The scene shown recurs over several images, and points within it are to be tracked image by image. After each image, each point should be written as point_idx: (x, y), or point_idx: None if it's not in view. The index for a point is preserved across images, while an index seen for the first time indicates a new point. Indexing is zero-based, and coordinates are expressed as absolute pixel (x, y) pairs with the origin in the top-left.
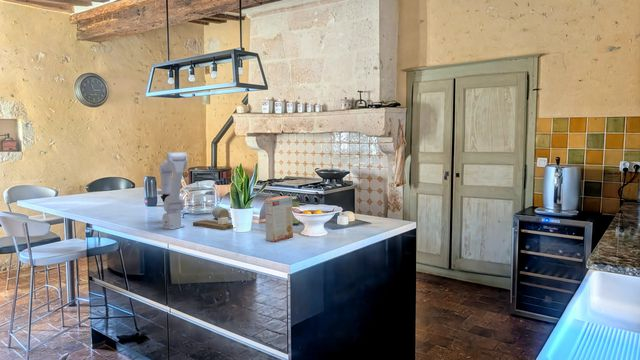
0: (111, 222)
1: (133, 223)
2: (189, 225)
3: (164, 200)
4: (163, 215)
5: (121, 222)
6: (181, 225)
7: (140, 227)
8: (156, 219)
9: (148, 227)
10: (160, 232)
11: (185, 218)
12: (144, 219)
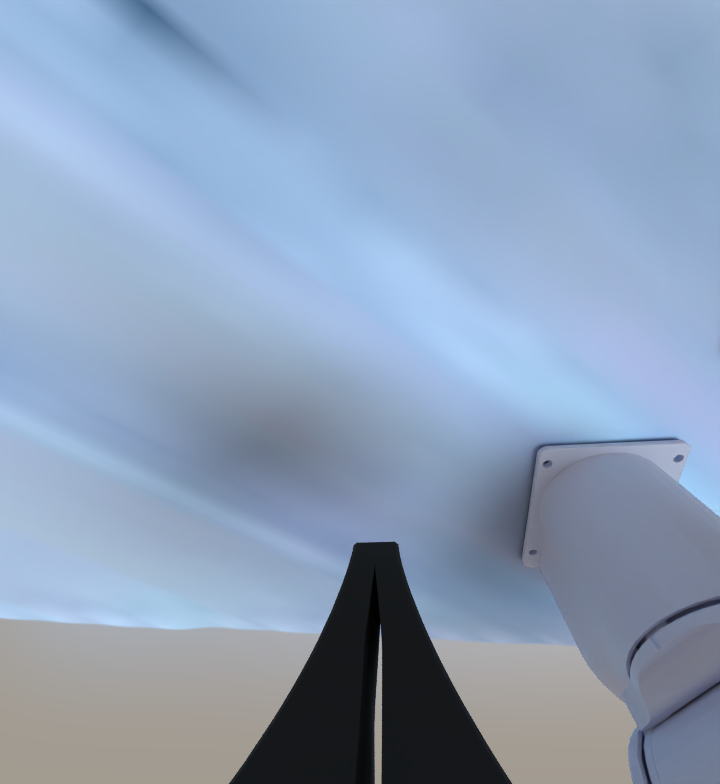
0: (18, 609)
1: (157, 562)
2: (681, 363)
3: (373, 772)
4: (617, 690)
5: (58, 582)
6: (640, 447)
7: None
8: (83, 366)
9: None
10: None
11: (262, 64)
12: (14, 432)
